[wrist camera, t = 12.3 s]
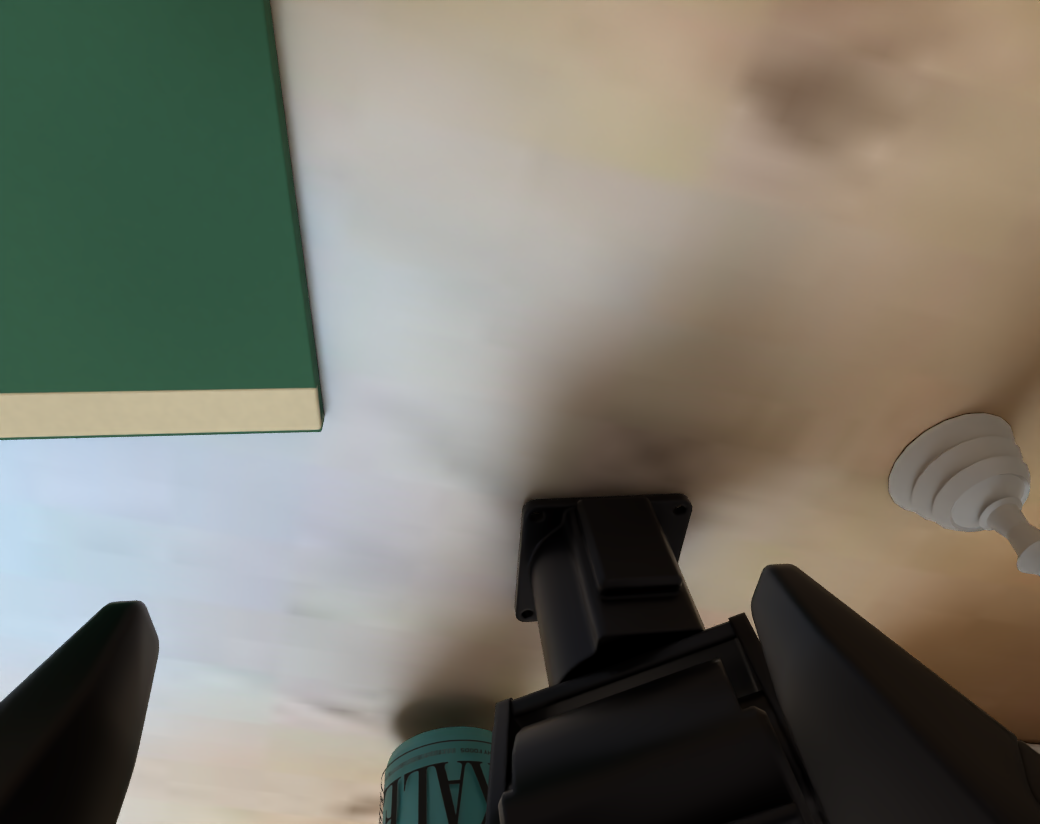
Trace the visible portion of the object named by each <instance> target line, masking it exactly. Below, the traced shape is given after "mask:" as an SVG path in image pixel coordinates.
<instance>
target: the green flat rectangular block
mask: <svg viewBox="0 0 1040 824" xmlns="http://www.w3.org/2000/svg"><path fill="white" fill-rule="evenodd" d="M323 422H324V411H323V404H322V396H321V388H320V381H319V373H318V366H317V358H316V350H315V343H314V335H313V327H312V320H311V312H310V305H309V297H308V289H307V282H306V274H305V267H304V259H303V251H302V244H301V236H300V228H299V221H298V213H297V206H296V198H295V190H294V183H293V175H292V167H291V160H290V152H289V145H288V137H287V129H286V122H285V114H284V107H283V99H282V91H281V84H280V76H279V68H278V61H277V53H276V46H275V38H274V30H273V23H272V15H271V8H270V0H0V440H18V439H57V438H96V437H135V436H173V435H212V434H251V433H290V432H320V431H322V427H323Z"/></svg>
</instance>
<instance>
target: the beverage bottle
mask: <svg viewBox="0 0 1040 824" xmlns="http://www.w3.org/2000/svg"><path fill="white" fill-rule="evenodd" d="M491 743H492V731H489V730H485V729H481V728H475V727H446V728H439V729H435V730H431V731H427V732H424V733H421V734H418V735H416V736H414V737H412V738H410V739H408V740H406V741H405V742H404V743H402V744H401V745H400V746H399V747H397V748H396V749H395V751H394V752H393V753H392V755H391V757H390V759H389V762H388V765H387V768H386V769H385V770H386V771H384V772H385V784H384V791H383V789H382V791H383V793H384V803H383V801H382V796H380V799H381V801H380V805H381V802H382V805H383V812H382V810H381V812H382V814H383V822H382V824H485V820H486V807H487V794H488V781H489V768H490V755H491ZM384 772H383V774H384ZM382 776H383V775H382ZM381 779H382V778H381ZM381 788H382V784H381ZM380 794H381V792H380ZM380 809H381V807H380ZM379 813H380V811H379ZM379 815H380V814H379ZM380 819H381V821H382V818H381V816H380V818H379V823H380V824H381V822H380Z"/></svg>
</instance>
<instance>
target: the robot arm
mask: <svg viewBox="0 0 1040 824" xmlns="http://www.w3.org/2000/svg"><path fill="white" fill-rule="evenodd" d="M677 506H680V507H679V508H676V507H677ZM534 512H540V513H539V514H533V513H534ZM691 512H692V505H691V503H690V501H689V499H688V497H687V496H686V495H684V494H657V495H632V496H608V497H583V498H558V499H536V500H531V501H529V502H527V503H526V504H525V505H524V506H523V509H522V519H521V532H520V544H519V557H518V570H517V582H516V595H515V614H516V618H517V619H518V620H520V621H522V622H532V621H538V627H539V633H540V638H541V644H542V650H543V655H544V661H545V667H546V672H547V678H548V684H549V687H547V688H544V689H542V690H539V691H536V692H534V693H531V694H528V695H525V696H523V697H520V698H517V699H514V700H513V699H512V698H509V699H506V700H503V701H501V702H498V703H496V706H495V718H494V727H493V730H492V743H491V755H490V768H489V781H488V794H487V807H486V820H485V824H1040V754H1039V753H1038V752H1036V751H1035V750H1034V749H1033V748H1031V747H1030V746H1029V745H1027V744H1026V743H1025V742H1023V741H1021V740H1017V737H1016V736H1015V735H1014V734H1013V733H1011V732H1010V731H1009V730H1008V729H1006V728H1005V727H1004V726H1002V725H1001V724H1000V723H999V722H997V721H996V720H995V719H993V718H992V717H991V716H989V715H988V714H987V713H986V712H984V711H983V710H982V709H980V708H979V707H978V706H976V705H975V704H974V703H973V702H971V701H970V700H969V699H967V698H966V697H965V696H964V695H962V694H961V693H960V692H958V691H957V690H956V689H954V688H953V687H952V686H951V685H949V684H948V683H947V682H945V681H944V680H943V679H941V678H940V677H939V676H938V675H936V674H935V673H934V672H932V671H931V670H930V669H929V668H927V667H926V666H925V665H923V664H922V663H921V662H919V661H918V660H917V659H916V658H914V657H913V656H912V655H910V654H909V653H908V652H906V651H905V650H904V649H903V648H901V647H900V646H899V645H897V644H896V643H895V642H894V641H892V640H891V639H890V638H888V637H887V636H886V635H884V634H883V633H882V632H881V631H879V630H878V629H877V628H875V627H874V626H873V625H871V624H870V623H869V622H868V621H866V620H865V619H864V618H862V617H861V616H860V615H859V614H857V613H856V612H855V611H853V610H852V609H851V608H849V607H848V606H847V605H846V604H844V603H843V602H842V601H840V600H839V599H838V598H836V597H835V596H834V595H833V594H831V593H830V592H829V591H827V590H826V589H825V588H824V587H822V586H821V585H820V584H818V583H817V582H816V581H814V580H813V579H812V578H811V577H809V576H808V575H807V574H805V573H804V572H803V571H801V570H800V569H799V568H797V567H796V566H794V565H792V564H775V565H767V566H766V567H765V568H764V569H763V571H762V573H761V576H760V579H759V581H758V584H757V587H756V589H755V592H754V595H753V597H752V601H751V611H752V616H753V620H754V623H755V626H756V630H757V633H758V636H759V639H758V637H757V635H756V633H755V632H754V630H753V628H752V626H751V624H750V622H749V620H748V618H747V616H746V615H745V613H741V614H738V615H736V616H733V617H730V618H728V619H729V621H728V622H725V623H722V624H720V625H717V626H714V627H712V628H709V629H706V630H705V627H704V625H703V623H702V620H701V618H700V616H699V613H698V611H697V608H696V606H695V604H694V601H693V599H692V596H691V594H690V592H689V589H688V587H687V585H686V582H685V580H684V577H683V575H682V573H681V570H680V568H679V566H678V560H679V556H680V552H681V549H682V545H683V541H684V538H685V534H686V530H687V527H688V523H689V519H690V516H691ZM759 640H760V641H759ZM158 654H159V640H158V636H157V633H156V631H155V628H154V625H153V623H152V620H151V618H150V615H149V613H148V610H147V608H146V606H145V604H144V603H143V602H141V601H137V600H136V601H119V602H111V603H109V604H107V605H106V606H104V607H103V608H102V609H101V610H100V611H99V612H97V613H96V614H95V615H94V616H93V617H92V618H91V619H90V620H89V621H88V622H87V623H86V624H85V625H83V626H82V627H81V628H80V629H79V630H78V631H77V632H76V633H75V634H74V635H73V636H72V637H70V638H69V639H68V640H67V641H66V642H65V643H64V644H63V645H62V646H61V647H60V648H59V649H57V650H56V651H55V652H54V653H53V654H52V655H51V656H50V657H49V658H48V659H47V660H46V661H45V662H43V663H42V664H41V665H40V666H39V667H38V668H37V669H36V670H35V671H34V672H33V673H32V674H30V675H29V676H28V677H27V678H26V679H25V680H24V681H23V682H22V683H21V684H20V685H19V686H17V687H16V688H15V689H14V690H13V691H12V692H11V693H10V694H9V695H8V696H7V697H6V698H5V699H3V700H2V701H1V702H0V824H116V822H117V819H118V816H119V813H120V810H121V807H122V804H123V801H124V798H125V795H126V792H127V789H128V786H129V783H130V779H131V776H132V773H133V769H134V766H135V762H136V758H137V753H138V749H139V745H140V740H141V735H142V730H143V726H144V721H145V716H146V711H147V707H148V702H149V697H150V692H151V688H152V683H153V678H154V673H155V669H156V664H157V659H158Z"/></svg>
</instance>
